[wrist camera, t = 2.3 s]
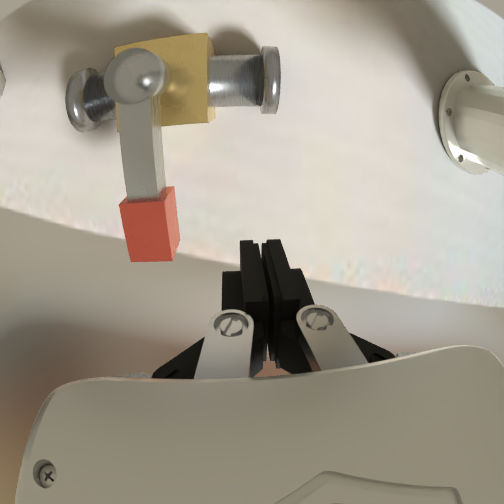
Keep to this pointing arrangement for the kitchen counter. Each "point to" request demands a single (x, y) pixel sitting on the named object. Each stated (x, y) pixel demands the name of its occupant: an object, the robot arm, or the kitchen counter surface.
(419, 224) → the kitchen counter surface
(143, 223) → the valve lever
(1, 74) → the salt shaker
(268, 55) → the valve pipe
